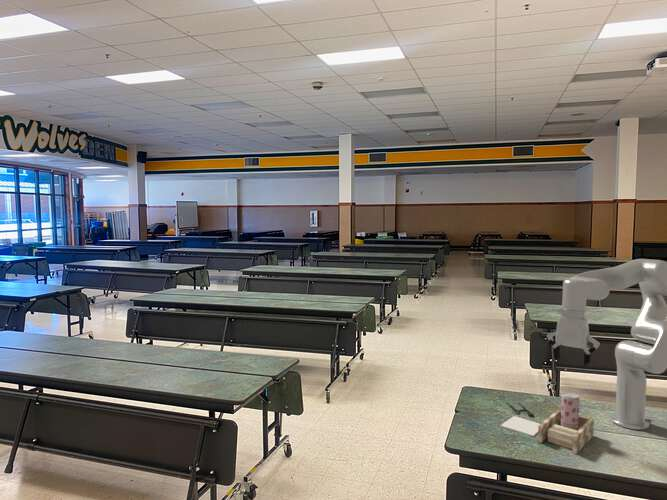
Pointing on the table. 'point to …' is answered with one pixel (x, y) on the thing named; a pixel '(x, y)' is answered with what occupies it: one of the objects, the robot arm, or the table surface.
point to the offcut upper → (561, 433)
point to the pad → (521, 426)
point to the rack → (578, 438)
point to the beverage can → (570, 411)
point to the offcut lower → (560, 442)
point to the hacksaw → (521, 410)
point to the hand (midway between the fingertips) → (571, 361)
